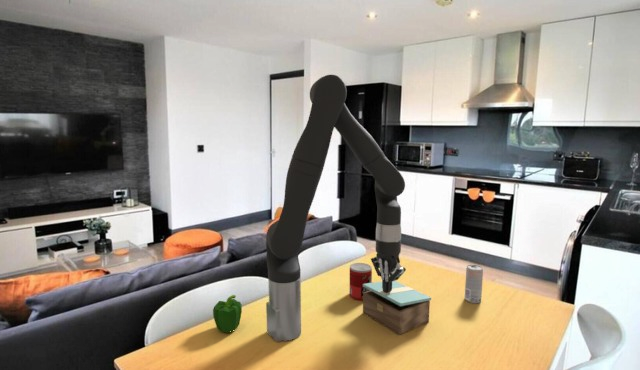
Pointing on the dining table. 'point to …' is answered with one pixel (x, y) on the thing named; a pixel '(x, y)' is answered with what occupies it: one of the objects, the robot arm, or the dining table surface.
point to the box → (395, 313)
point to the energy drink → (473, 283)
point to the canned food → (359, 279)
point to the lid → (398, 293)
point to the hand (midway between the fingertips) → (387, 291)
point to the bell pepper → (227, 314)
